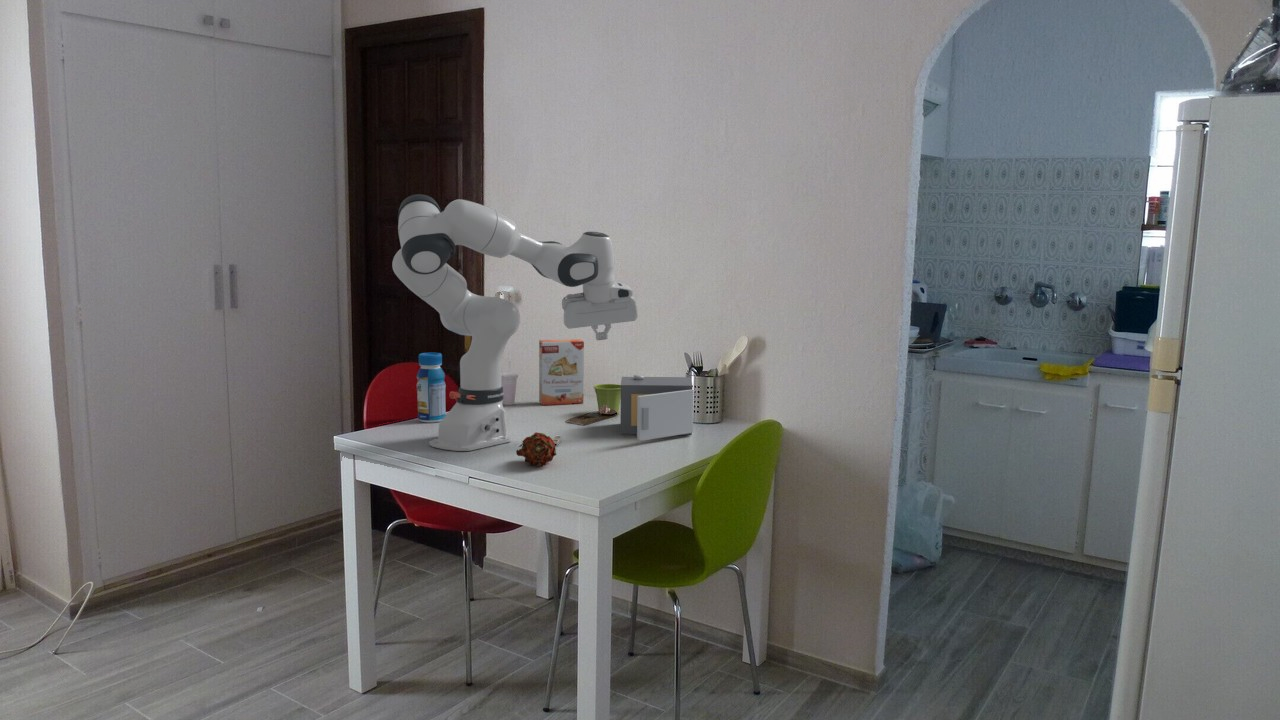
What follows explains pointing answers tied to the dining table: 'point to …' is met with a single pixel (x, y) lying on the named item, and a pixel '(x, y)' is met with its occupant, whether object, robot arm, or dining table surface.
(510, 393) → the smoothie
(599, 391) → the plant pot
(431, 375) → the beverage bottle
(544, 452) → the dragon fruit
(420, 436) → the dining table surface
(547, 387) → the cracker box
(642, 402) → the side door
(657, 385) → the gray cabinet
